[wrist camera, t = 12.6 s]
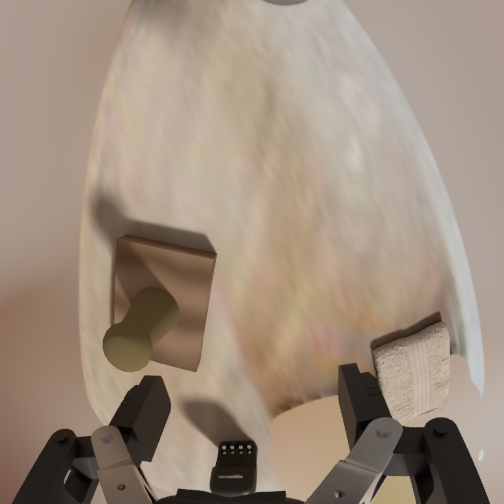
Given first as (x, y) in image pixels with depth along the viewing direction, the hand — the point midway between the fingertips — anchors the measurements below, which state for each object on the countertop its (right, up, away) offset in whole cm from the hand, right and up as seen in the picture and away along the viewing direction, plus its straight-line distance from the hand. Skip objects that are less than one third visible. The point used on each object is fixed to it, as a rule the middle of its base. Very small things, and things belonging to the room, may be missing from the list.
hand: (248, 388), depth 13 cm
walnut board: (-12, -1, +27) cm, 29 cm away
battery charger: (-2, -27, +33) cm, 43 cm away
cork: (-12, -1, +25) cm, 27 cm away
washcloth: (+25, -13, +29) cm, 40 cm away
